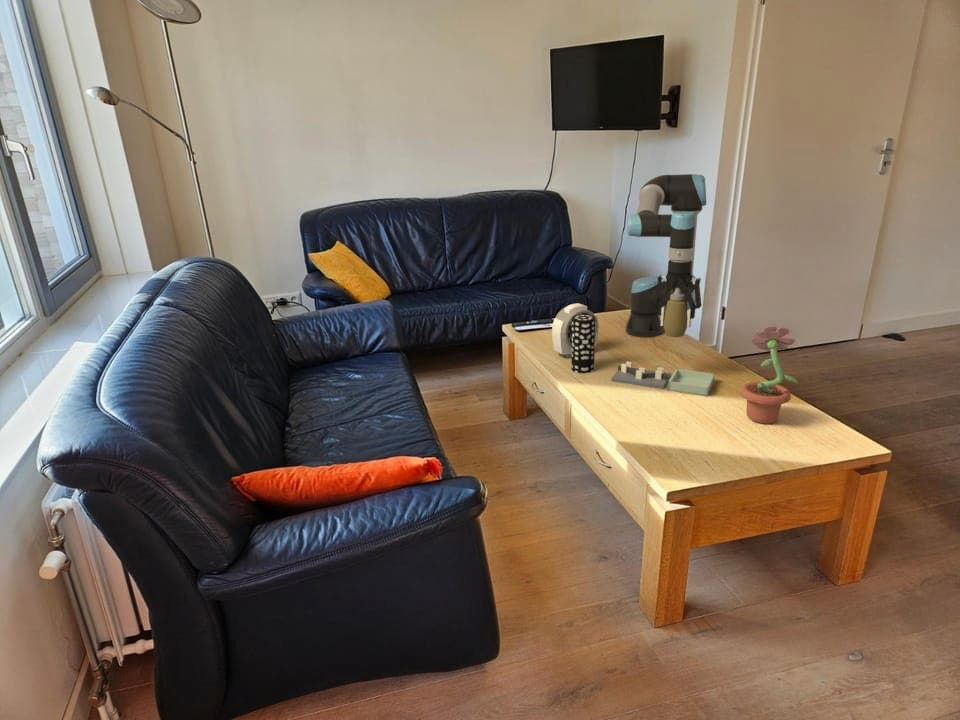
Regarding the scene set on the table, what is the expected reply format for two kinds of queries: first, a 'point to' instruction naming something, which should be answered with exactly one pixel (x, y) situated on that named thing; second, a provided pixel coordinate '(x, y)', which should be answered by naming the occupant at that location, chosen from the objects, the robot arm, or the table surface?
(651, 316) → the robot arm
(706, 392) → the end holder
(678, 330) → the squeeze bottle
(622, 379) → the grey peg board
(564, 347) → the alarm clock
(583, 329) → the white-spotted black cylinder
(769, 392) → the decorative flower
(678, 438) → the table surface
